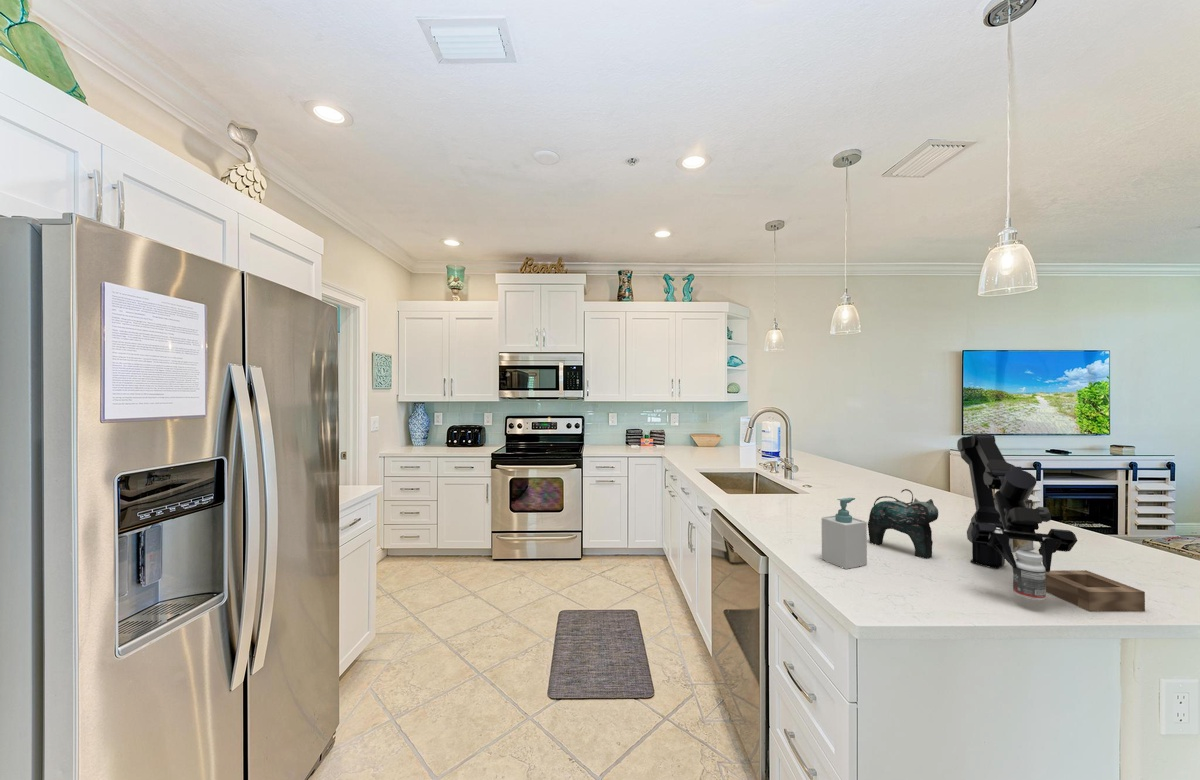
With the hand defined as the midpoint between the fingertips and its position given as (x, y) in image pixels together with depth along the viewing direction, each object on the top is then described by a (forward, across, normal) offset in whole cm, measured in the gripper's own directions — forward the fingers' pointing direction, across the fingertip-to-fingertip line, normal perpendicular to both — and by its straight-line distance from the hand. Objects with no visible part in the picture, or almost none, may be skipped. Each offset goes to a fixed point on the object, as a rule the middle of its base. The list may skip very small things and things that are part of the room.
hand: (1031, 569), depth 108 cm
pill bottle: (+4, 0, +6) cm, 7 cm away
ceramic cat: (-17, -21, +31) cm, 42 cm away
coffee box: (-30, +12, +44) cm, 54 cm away
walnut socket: (-2, +15, +15) cm, 21 cm away
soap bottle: (-4, -38, +18) cm, 42 cm away
